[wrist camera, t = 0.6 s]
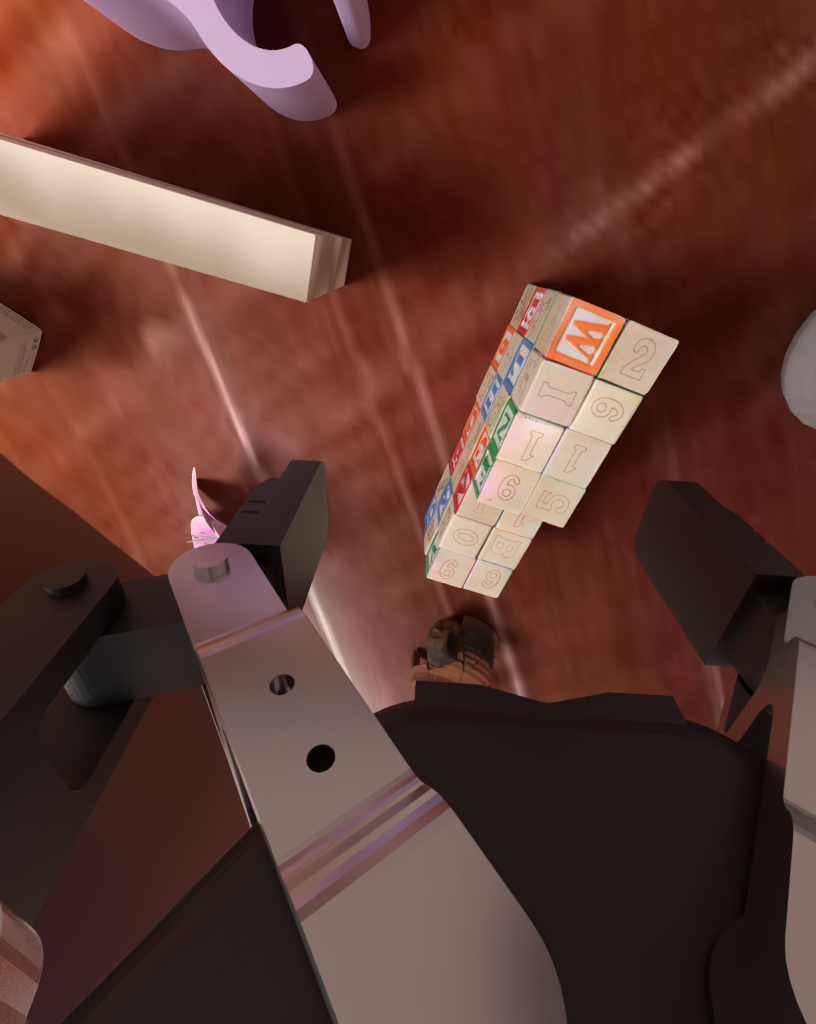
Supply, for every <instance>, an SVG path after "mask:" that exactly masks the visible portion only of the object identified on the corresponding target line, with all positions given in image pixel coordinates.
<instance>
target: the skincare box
mask: <svg viewBox="0 0 816 1024" xmlns="http://www.w3.org/2000/svg"><path fill="white" fill-rule="evenodd" d="M41 335H42V330H41V329H39V328H38V327H37V326H35V325H34V324H32V323H31V322H29V321H28V320H26V319H25V318H23V317H22V316H20V315H18V314H17V313H15V312H14V311H12V310H11V309H9V308H8V307H6V306H4V305H3V304H1V303H0V382H1V381H5V380H8V379H12V378H15V377H19V376H22V375H26V374H29V373H31V370H32V367H33V364H34V361H35V358H36V355H37V351H38V348H39V344H40V340H41Z"/></svg>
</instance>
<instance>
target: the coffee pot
mask: <svg viewBox="0 0 816 1024" xmlns="http://www.w3.org/2000/svg"><path fill="white" fill-rule="evenodd" d="M781 387H782V392H783V394H784V397H785V399H786V402H787V404H788V406H789V409H790V411H791V412H792V413H793V414H794V415H795V416H796V417H797V418H798V419H799V420H800V421H801V422H802V423H803V424H805V425H808V426H810V427H812V428H815V429H816V309H815V310H814V311H813V312H812V313H811V314H810V315H809V317H808V318H807V319H806V321H805V322H804V323H803V324H802V326H801V327H800V328H799V330H798V331H797V332H796V334H795V336H794V338H793V340H792V342H791V344H790V346H789V347H788V349H787V351H786V354H785V358H784V362H783V366H782V370H781Z"/></svg>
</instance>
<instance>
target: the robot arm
mask: <svg viewBox="0 0 816 1024" xmlns="http://www.w3.org/2000/svg"><path fill="white" fill-rule="evenodd" d="M328 524H329V517H328V501H327V485H326V470H325V465H324V462H323V461H305V460H291V462H290V463H289V465H288V467H287V468H286V470H285V471H284V473H283V475H282V476H281V478H280V479H273V478H269V479H268V480H266V481H264V482H263V483H261V484H259V485H258V486H256V487H255V488H253V490H252V491H251V493H250V494H249V495H248V497H247V498H246V500H245V503H243V504H242V505H241V507H240V508H239V510H238V513H236V514H235V515H234V517H233V518H232V520H231V521H230V522H229V524H228V525H227V527H226V528H225V529H224V531H223V532H222V534H221V535H220V537H219V538H218V539H217V541H216V542H215V543H213V544H207V545H203V546H200V547H197V548H194V549H192V550H190V551H188V552H186V553H184V554H183V555H181V556H180V557H178V558H177V559H176V560H175V561H174V562H173V564H172V565H171V566H170V568H169V571H168V574H166V575H161V576H155V577H148V578H141V579H134V580H128V581H121V582H120V579H119V577H118V574H117V571H116V569H115V568H114V566H113V565H111V564H110V563H108V562H105V561H101V560H80V561H73V562H69V563H65V564H62V565H59V566H56V567H53V568H51V569H49V570H46V571H44V572H42V573H41V574H39V575H37V576H35V577H34V578H32V579H31V580H30V581H28V582H27V583H26V584H25V585H23V587H21V588H20V589H19V590H18V591H17V592H16V593H15V594H14V595H13V596H12V597H11V598H10V599H9V600H8V601H7V602H5V603H4V604H3V605H2V606H1V607H0V1024H25V1021H26V1017H27V1014H28V1012H29V1009H30V1006H31V1003H32V1001H33V998H34V995H35V993H36V990H37V987H38V984H39V980H40V976H41V972H42V964H43V951H42V945H41V941H40V938H39V936H38V935H37V933H36V932H35V930H34V929H32V927H31V926H32V924H33V922H34V920H35V918H36V916H37V915H38V913H39V911H40V909H41V907H42V905H43V903H44V901H45V899H46V898H47V896H48V894H49V892H50V890H51V888H52V886H53V884H54V883H55V881H56V879H57V877H58V875H59V873H60V871H61V869H62V867H63V866H64V864H65V862H66V860H67V858H68V856H69V854H70V852H71V851H72V849H73V847H74V845H75V843H76V841H77V839H78V837H79V835H80V834H81V832H82V830H83V828H84V826H85V824H86V822H87V820H88V819H89V817H90V815H91V813H92V811H93V809H94V807H95V805H96V803H97V802H98V800H99V798H100V796H101V794H102V792H103V790H104V788H105V787H106V785H107V783H108V781H109V779H110V777H111V775H112V773H113V772H114V770H115V768H116V766H117V764H118V762H119V760H120V758H121V757H122V754H123V753H124V751H125V749H126V747H127V745H128V743H129V741H130V740H131V738H132V736H133V734H134V732H135V730H136V728H137V726H138V725H139V723H140V721H141V719H142V717H143V715H144V713H145V711H146V709H147V708H148V706H149V704H150V702H151V700H152V698H153V696H154V695H156V694H162V693H166V692H170V691H176V690H180V689H185V688H190V687H194V686H199V685H202V688H203V691H204V694H205V696H206V699H207V702H208V705H209V708H210V710H211V713H212V716H213V719H214V722H215V725H216V727H217V730H218V733H219V736H220V738H221V742H222V744H223V747H224V750H225V753H226V756H227V758H228V761H229V764H230V767H231V770H232V773H233V776H234V779H235V782H236V785H237V788H238V791H239V794H240V797H241V800H242V803H243V806H244V809H245V812H246V815H247V818H248V820H249V823H250V826H251V828H250V829H249V830H248V831H247V832H246V833H245V834H244V835H243V836H242V837H241V838H240V839H239V840H238V841H237V842H236V843H235V844H234V845H233V846H232V847H231V848H230V849H229V850H228V851H227V852H226V853H225V854H224V855H223V856H222V857H221V858H220V859H219V860H218V861H217V862H216V863H215V864H214V865H213V866H212V867H211V868H210V869H209V870H208V871H207V873H205V874H204V875H203V877H201V878H200V879H199V881H197V882H196V884H195V885H194V886H193V887H192V888H191V889H190V890H189V891H188V892H187V893H186V894H185V895H184V896H183V897H182V898H181V899H180V900H179V901H178V902H177V903H176V904H175V905H174V906H173V907H172V908H171V909H170V910H169V911H168V912H167V913H166V914H165V915H164V916H163V917H162V918H161V919H160V920H159V921H158V922H157V923H156V924H155V925H154V926H153V927H152V928H151V929H150V930H149V931H148V932H147V933H146V934H145V935H144V936H143V937H142V938H141V939H140V940H139V941H138V942H137V943H136V944H135V945H134V946H133V947H132V948H131V949H130V950H129V951H128V952H127V953H126V954H125V955H124V956H123V957H122V958H121V959H120V960H119V961H118V962H117V963H116V964H115V965H114V966H113V967H112V968H111V969H110V970H109V972H107V973H106V975H104V976H103V977H102V978H101V979H100V980H99V981H98V983H96V984H95V985H94V986H93V988H92V989H91V990H90V991H89V992H88V993H87V994H86V995H85V996H84V997H83V998H82V999H81V1000H80V1001H79V1002H78V1003H77V1004H76V1005H75V1006H74V1007H73V1008H72V1009H71V1010H70V1011H69V1012H68V1013H67V1014H66V1015H65V1016H64V1017H63V1018H62V1019H61V1020H60V1021H59V1022H58V1023H57V1024H816V577H815V576H805V575H804V574H803V573H801V572H800V571H799V570H798V569H797V568H796V567H795V566H794V565H793V564H792V563H791V562H789V561H788V560H787V559H786V558H785V557H784V556H783V555H782V554H781V553H780V552H778V551H777V550H776V549H775V548H774V547H773V546H772V545H771V544H770V543H766V540H765V539H764V538H763V537H762V536H761V535H760V534H759V533H758V532H754V529H753V528H752V527H751V526H750V525H749V524H748V523H747V522H745V521H744V520H743V519H742V518H741V517H740V516H739V515H737V514H735V513H733V512H732V511H730V510H728V509H726V508H724V507H723V506H722V505H721V504H720V503H719V502H718V501H716V500H715V499H714V498H713V497H712V496H711V495H710V494H709V493H708V492H707V491H706V490H705V489H704V488H702V487H701V486H700V485H699V484H698V483H696V482H684V481H665V480H662V481H659V482H658V483H657V484H656V485H655V487H654V488H653V491H652V493H651V496H650V499H649V501H648V504H647V507H646V510H645V512H644V515H643V518H642V521H641V523H640V526H639V529H638V531H637V534H636V538H635V553H636V556H637V559H638V561H639V562H640V564H641V566H642V567H643V569H644V570H645V572H646V573H647V575H648V577H649V578H650V580H651V581H652V583H653V584H654V586H655V588H656V589H657V591H658V592H659V594H660V595H661V597H662V599H663V600H664V602H665V603H666V605H667V606H668V608H669V609H670V611H671V613H672V614H673V616H674V617H675V619H676V620H677V622H678V624H679V625H680V627H681V628H682V630H683V631H684V633H685V635H686V636H687V638H688V639H689V641H690V642H691V644H692V646H693V647H694V649H695V650H696V652H697V653H698V655H699V657H700V658H701V660H702V661H703V663H704V664H705V665H713V666H730V667H735V669H736V670H737V671H736V673H735V675H734V676H733V678H732V679H731V681H730V683H729V686H728V690H727V694H726V698H725V701H724V705H723V709H722V713H721V717H720V721H719V725H718V729H717V731H714V730H712V729H710V728H708V727H705V726H703V725H700V724H697V723H695V722H692V721H689V720H685V718H684V716H683V715H682V713H681V711H680V709H679V707H678V705H677V703H676V701H675V699H674V697H673V696H660V695H644V694H628V693H612V692H608V693H603V694H598V695H592V696H587V697H581V698H576V699H570V700H565V701H560V702H554V703H544V702H540V701H536V700H533V699H529V698H525V697H522V696H518V695H515V694H511V693H508V692H504V691H501V690H497V689H494V688H490V687H486V686H483V685H479V684H467V683H450V682H434V681H418V680H416V684H415V698H414V700H413V701H408V702H403V703H399V704H396V705H393V706H390V707H387V708H385V709H382V710H380V711H378V712H376V713H374V714H373V713H372V711H371V710H370V708H369V707H368V705H367V704H366V702H365V701H364V699H363V698H362V697H361V695H360V694H359V692H358V691H357V689H356V688H355V686H354V685H353V683H352V682H351V680H350V679H349V677H348V676H347V675H346V673H345V672H344V670H343V669H342V667H341V666H340V664H339V663H338V661H337V660H336V658H335V657H334V655H333V654H332V653H331V651H330V650H329V648H328V647H327V645H326V644H325V642H324V641H323V639H322V638H321V636H320V635H319V633H318V632H317V630H316V629H315V628H314V626H313V625H312V623H311V622H310V620H309V619H308V617H307V616H306V614H305V613H304V612H303V611H302V610H303V607H304V604H305V601H306V598H307V595H308V592H309V589H310V586H311V583H312V581H313V578H314V575H315V572H316V569H317V566H318V563H319V560H320V557H321V554H322V552H323V549H324V546H325V543H326V539H327V534H328ZM63 687H64V689H63V690H62V691H61V689H62V688H63ZM60 691H61V693H60V694H59V696H58V697H57V698H56V700H55V701H54V702H53V704H52V705H51V706H50V708H49V709H48V707H49V705H50V704H51V703H52V701H53V700H54V699H55V697H56V696H57V695H58V693H59V692H60ZM47 709H48V710H47ZM46 710H47V712H46ZM45 712H46V713H45Z"/></svg>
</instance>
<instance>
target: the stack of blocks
mask: <svg viewBox="0 0 816 1024" xmlns="http://www.w3.org/2000/svg"><path fill="white" fill-rule="evenodd" d="M678 343H679V341H678V340H676V339H673V338H671V337H669V336H666V335H664V334H662V333H659V332H657V331H655V330H654V329H651V328H649V327H646V326H644V325H641V324H639V323H636V322H634V321H632V320H629V319H627V318H624V317H622V316H620V315H617V314H615V313H612V312H610V311H607V310H605V309H603V308H601V307H598V306H595V305H593V304H590V303H588V302H585V301H583V300H580V299H578V298H575V297H572V296H570V295H567V294H565V293H562V292H560V291H556V290H552V289H546V288H542V287H537V286H535V285H532V284H528V285H527V287H526V289H525V291H524V294H523V296H522V298H521V300H520V303H519V305H518V307H517V309H516V312H515V314H514V316H513V318H512V320H511V323H510V325H509V326H508V327H507V329H506V331H505V334H504V336H503V338H502V340H501V343H500V345H499V347H498V350H497V352H496V354H495V356H494V358H493V361H492V364H491V365H490V367H489V370H488V372H487V374H486V376H485V378H484V381H483V383H482V385H481V388H480V390H479V392H478V394H477V397H476V403H475V404H474V407H473V409H472V412H471V414H470V416H469V418H468V421H467V423H466V425H465V427H464V430H463V434H462V436H461V438H460V440H459V442H458V445H457V447H456V449H455V452H454V454H453V456H452V459H451V461H450V463H448V464H447V467H446V469H445V471H444V473H443V476H442V478H441V480H440V482H439V485H438V487H437V490H436V493H435V495H434V497H433V499H432V502H431V504H430V506H429V509H428V511H427V513H426V516H425V555H426V578H429V579H433V580H436V581H439V582H443V583H446V584H449V585H452V586H455V587H459V588H462V587H463V588H465V589H468V590H471V591H474V592H477V593H481V594H484V595H488V596H491V597H494V598H497V597H498V596H499V595H500V593H501V591H502V589H503V588H504V586H505V584H506V582H507V581H508V579H509V577H510V575H511V574H512V570H514V569H515V568H516V566H517V565H518V563H519V561H520V559H521V558H522V556H523V554H524V553H525V551H526V549H527V547H528V546H529V544H530V542H531V540H532V538H533V537H534V536H535V534H536V533H537V531H538V529H539V527H540V526H541V524H542V522H543V521H544V522H547V523H549V524H552V525H555V526H558V527H561V528H563V527H564V526H565V524H566V523H567V521H568V519H569V518H570V516H571V514H572V513H573V511H574V509H575V507H576V506H577V504H578V503H579V501H580V499H581V498H582V496H583V495H584V493H585V491H586V487H587V486H588V484H589V483H590V481H591V480H592V478H593V477H594V475H595V473H596V472H597V470H598V468H599V466H600V465H601V463H602V462H603V460H604V459H605V457H606V455H607V454H608V452H609V450H610V448H611V446H612V445H613V444H615V443H616V441H617V439H618V438H619V436H620V435H621V433H622V432H623V430H624V428H625V427H626V425H627V424H628V422H629V420H630V419H631V417H632V416H633V414H634V412H635V411H636V409H637V407H638V406H639V404H640V403H641V401H642V399H643V395H645V394H646V393H648V392H649V390H650V388H651V387H652V385H653V384H654V382H655V380H656V379H657V377H658V376H659V374H660V373H661V371H662V370H663V368H664V366H665V365H666V363H667V362H668V360H669V359H670V357H671V355H672V354H673V352H674V351H675V349H676V348H677V345H678Z"/></svg>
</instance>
